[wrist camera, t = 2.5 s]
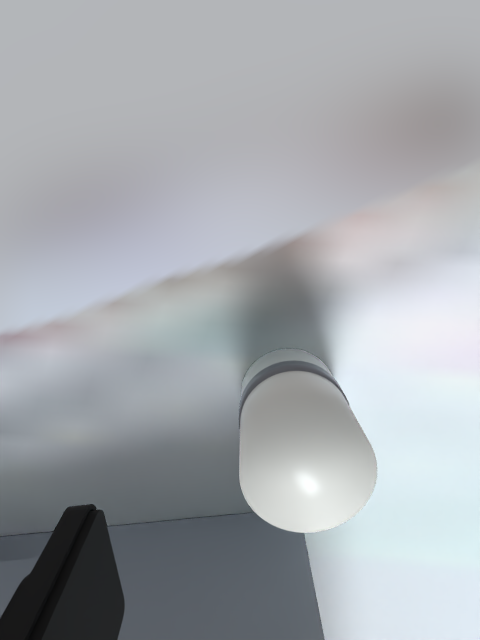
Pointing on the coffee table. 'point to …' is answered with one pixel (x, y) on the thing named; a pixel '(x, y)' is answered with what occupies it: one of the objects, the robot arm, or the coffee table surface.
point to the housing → (198, 579)
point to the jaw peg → (301, 445)
